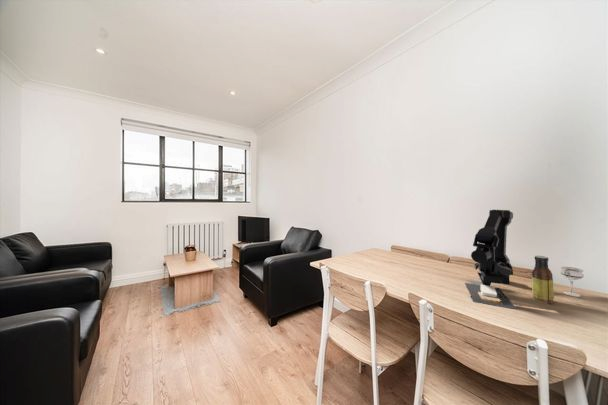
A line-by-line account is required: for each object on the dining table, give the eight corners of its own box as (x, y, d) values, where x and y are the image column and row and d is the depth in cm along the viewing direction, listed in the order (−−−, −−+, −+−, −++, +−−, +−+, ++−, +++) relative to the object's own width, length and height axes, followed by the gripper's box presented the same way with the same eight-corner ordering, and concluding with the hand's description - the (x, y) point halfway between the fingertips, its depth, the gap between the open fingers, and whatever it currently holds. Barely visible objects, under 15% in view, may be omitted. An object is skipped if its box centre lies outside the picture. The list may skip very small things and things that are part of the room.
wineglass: (581, 293, 99) (581, 268, 98) (585, 299, 94) (585, 272, 93) (558, 289, 103) (558, 265, 103) (561, 294, 98) (562, 269, 98)
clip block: (494, 291, 99) (494, 286, 98) (496, 299, 95) (496, 294, 94) (480, 289, 102) (480, 284, 100) (482, 296, 98) (482, 292, 97)
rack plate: (499, 289, 104) (499, 287, 104) (515, 309, 86) (515, 306, 86) (464, 284, 111) (464, 282, 111) (472, 301, 93) (472, 298, 93)
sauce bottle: (546, 298, 95) (547, 255, 94) (558, 305, 89) (558, 259, 88) (528, 296, 97) (528, 254, 96) (537, 303, 91) (538, 258, 90)
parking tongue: (488, 284, 111) (488, 282, 111) (491, 288, 106) (491, 286, 106) (469, 281, 115) (469, 280, 114) (471, 285, 110) (471, 283, 110)
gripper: (517, 266, 87) (517, 302, 88) (502, 254, 104) (502, 284, 104) (483, 263, 93) (483, 297, 94) (474, 252, 109) (474, 281, 110)
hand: (486, 289), depth 100 cm, fingers closed, pressing on clip block
